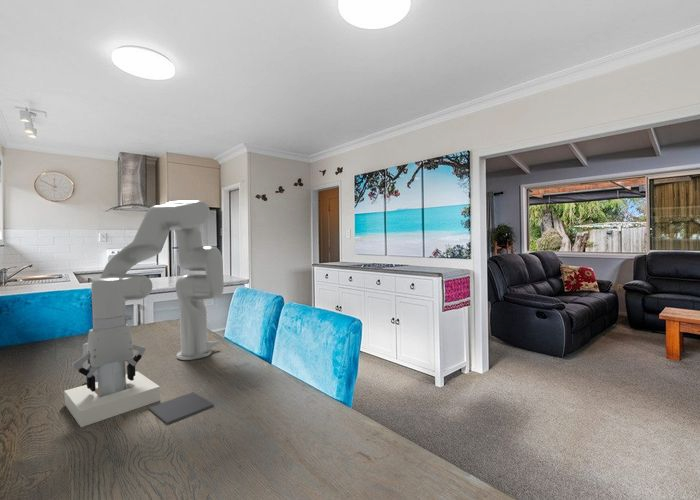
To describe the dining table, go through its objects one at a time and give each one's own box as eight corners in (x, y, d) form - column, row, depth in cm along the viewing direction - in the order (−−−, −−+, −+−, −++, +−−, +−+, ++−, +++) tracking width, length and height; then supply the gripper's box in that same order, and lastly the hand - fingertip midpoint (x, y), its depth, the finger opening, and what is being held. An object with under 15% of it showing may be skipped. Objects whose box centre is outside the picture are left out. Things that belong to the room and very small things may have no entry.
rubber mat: (193, 393, 102) (193, 391, 102) (213, 406, 94) (213, 404, 94) (148, 409, 93) (148, 407, 93) (166, 424, 85) (166, 422, 85)
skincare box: (111, 398, 100) (109, 357, 100) (127, 397, 100) (125, 356, 100) (98, 408, 94) (96, 364, 93) (114, 407, 94) (112, 363, 94)
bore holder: (137, 383, 110) (137, 371, 110) (160, 400, 98) (159, 386, 98) (65, 404, 96) (64, 390, 96) (80, 427, 84) (80, 411, 84)
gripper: (139, 315, 105) (141, 372, 106) (66, 326, 92) (69, 391, 93) (149, 318, 100) (151, 378, 101) (73, 331, 87) (76, 399, 88)
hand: (112, 384), depth 97 cm, fingers open, 8 cm apart
